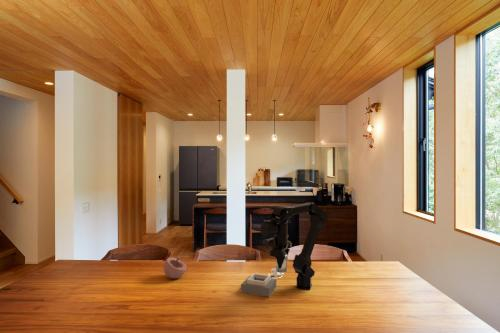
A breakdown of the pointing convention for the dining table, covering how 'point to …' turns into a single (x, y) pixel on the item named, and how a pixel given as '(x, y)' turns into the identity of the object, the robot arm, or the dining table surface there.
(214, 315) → the dining table surface
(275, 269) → the teacup and saucer
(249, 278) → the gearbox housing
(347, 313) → the dining table surface
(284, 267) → the metal can
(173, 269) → the mortar and pestle
